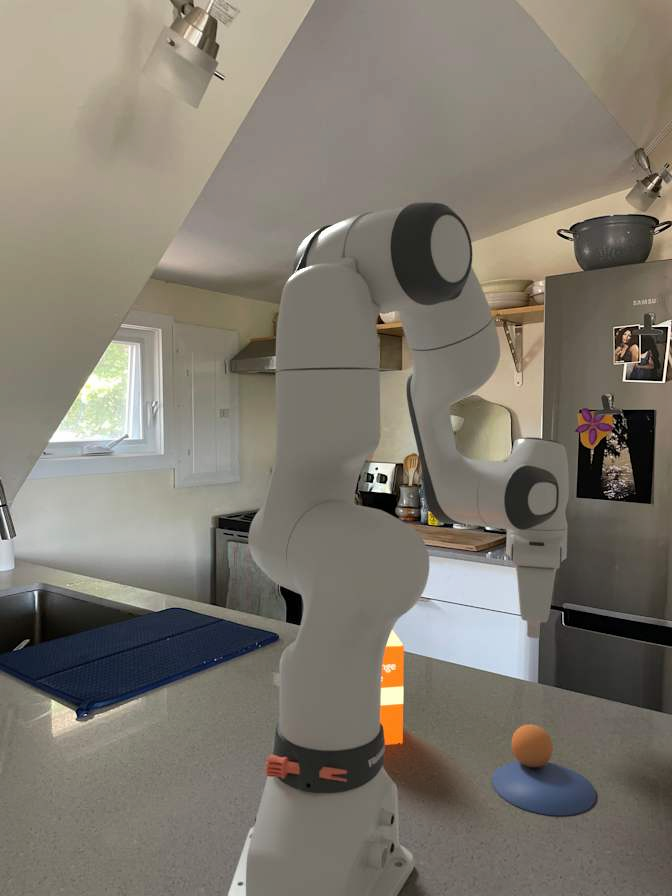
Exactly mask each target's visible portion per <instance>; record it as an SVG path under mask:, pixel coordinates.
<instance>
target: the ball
mask: <svg viewBox="0 0 672 896" xmlns="http://www.w3.org/2000/svg"><path fill="white" fill-rule="evenodd" d="M553 749H554V747H553V741H552V739H551V736H550V735H549V734H548V732H547V731H546V730H545V729H544V728H542V727H541V726H539V725H536V724H529V723H528V724H523V725H522V726H519V727H518V728H517V729H516V730H515V731H514V733H513V735H512V738H511V751H512V753H513V755H514V757H515V758H516V760H517V761H519V762H521V763H522V764H523V765H525V766H528V767H533V768H536V767H540V766H543V765H544V764H546V763H549V760H550V759H551V758H552V755H553Z"/></svg>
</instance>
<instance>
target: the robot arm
mask: <svg viewBox="0 0 672 896" xmlns="http://www.w3.org/2000/svg"><path fill="white" fill-rule="evenodd" d="M296 251H297V252H296V253H295V257H294V261H293V270H292V275H291V276H290V277H289V278H288V280H286V282H285V285H284V286H283V289H282V291H281V292H282V293H281V297H280V304H279V311H278V318H277V326H276V338H275V371H276V372H275V397H276V398H275V399H276V400H275V401H276V403H275V406H276V408H275V410H276V413H275V415H276V416H275V419H276V421H275V422H276V424H275V425H276V426H275V429H276V430H275V431H276V432H275V433H276V434H275V435H276V436H275V449H274V458H273V464H272V468H271V474H270V479H269V483H268V487H267V491H266V495H265V499H264V502H263V503H262V507H261V508H259V510H258V511H257V512H256V514H255V516H254V517H253V519H252V521H251V522H250V526H249V531H248V537H247V538H248V542H247V543H248V548H249V553H250V555H251V557H252V560H253V561H254V562H255V564H256V565H257V566H258V567H259V569H261V571H262V572H263V573H264V574H266V576H267V577H268V578H270V579H271V580H272V581H273V582H274V583H276V584H277V585H279V586H280V587H283V588H285V589H287V590H290V591H291V592H294V593H296V594H299V595H300V596H301V599H302V602H303V611H302V617H301V621H300V626H299V629H298V633H297V636H296V638H295V640H294V641H293V642H291V643H290V644H288V646H287V647H286V648H285V649H284V651H283V652H282V654H281V657H280V659H279V664H278V665H279V667H278V668H279V669H278V670H279V674H278V675H279V676H278V677H279V678H278V679H279V681H278V682H279V684H278V685H279V689H278V690H279V691H278V693H279V694H278V695H279V696H278V700H279V701H278V702H279V703H278V705H279V706H278V707H279V709H278V713H279V714H278V715H279V716H278V717H279V721H278V723H277V724H276V727H275V734H274V738H273V740H272V748H271V749H272V751H271V753H272V754H270V755H269V756H268V758H267V761H266V764H265V765H266V766H265V774H266V776H267V777H266V781H265V786H264V788H263V792H262V795H261V799H260V804H259V806H258V811H257V814H256V816H255V817H254V825H253V826H252V827H251V828H250V829H249V830H248V832H247V836H246V839H245V842H244V844H243V848H242V851H241V854H240V856H239V859H238V863H237V865H236V868H235V871H234V874H233V877H232V880H231V884H230V886H229V889H228V893H227V895H226V896H398V895H399V894H400V892H401V890H402V888H403V887H404V885H405V884H406V882H407V880H408V879H409V877H410V876H411V873H412V872H413V870H414V868H415V861H414V859H415V858H414V855H413V854H412V852H411V851H409V850H408V849H407V848H406V847H404V846H403V845H402V844H400V834H399V833H400V832H399V831H400V830H399V827H400V826H399V801H398V797H399V795H398V787H397V785H396V784H395V782H394V780H393V779H391V777H390V775H389V774H388V773H387V771H386V770H385V768H384V762H385V750H386V745H385V738H384V729H383V726H382V724H381V723H380V707H381V677H382V664H383V657H384V653H385V649H386V645H387V642H388V639H389V636H390V634H391V631H392V630H394V627H395V625H396V623H397V622H398V620H399V619H400V618H401V617H402V616H403V615H405V614H407V613H408V612H409V611H410V610H412V608H414V606H415V605H416V604H417V603H418V602H419V600H420V598H421V597H422V595H423V593H424V592H425V589H426V586H427V583H428V580H429V575H430V574H429V573H430V555H429V552H428V551H429V550H428V547H427V544H426V542H425V540H424V538H423V537H422V535H421V534H420V533H419V532H418V531H417V530H416V529H415V528H414V527H412V526H410V525H409V524H407V523H405V522H404V521H403V520H401V519H399V518H398V517H396V516H394V515H392V514H390V513H389V512H386V511H384V510H382V509H378V508H374V507H369V506H364V505H358V504H356V499H355V496H356V490H357V484H358V481H359V477H360V474H361V471H362V469H363V466H364V465H365V463H366V461H367V460H368V458H370V457H371V456H372V455H373V454H374V453H375V451H376V450H377V449H378V446H379V444H380V441H381V388H380V387H381V384H380V382H381V379H380V377H381V376H380V375H381V374H380V373H381V372H380V368H381V367H380V350H379V349H380V348H379V338H378V330H377V321H378V317H379V315H380V314H386V313H393V312H398V314H399V319H400V322H401V325H402V326H401V327H402V330H403V333H404V336H405V339H406V341H407V345H408V347H409V349H410V354H411V358H412V366H413V367H412V371H411V372H410V374H409V376H408V378H407V381H406V400H407V406H408V413H409V417H410V421H411V426H412V430H413V435H414V439H415V444H416V447H417V448H416V449H417V454H418V457H419V461H420V462H419V463H420V465H421V470H422V486H423V487H422V488H423V489H422V490H423V497H424V502H425V505H426V506H427V508H428V510H429V512H430V514H432V516H433V518H435V519H436V520H437V521H438V522H440V523H442V524H447V525H452V524H453V525H470V526H478V527H485V528H491V529H492V528H493V529H501V530H506V545H505V546H506V547H505V554H506V555H507V556H508V557H509V558H510V559H511V561H512V564H513V565H514V567H515V570H516V571H515V572H516V578H517V590H518V592H517V593H518V602H519V604H518V605H519V612H520V613H519V614H520V617H521V619H522V620H523V621H525V622H527V623H526V625H527V632H526V635H527V637H528V638H530V639H539V638H540V632H541V623H547V621H548V619H549V616H550V610H551V607H552V606H551V604H552V597H553V592H554V591H553V589H554V584H555V576H556V572H557V569H560V568H561V567H560V566H561V563H562V562H563V561H564V560H566V559H567V556H568V555H567V554H568V527H569V526H568V521H567V516H566V508H567V504H568V501H569V496H570V493H569V492H570V479H569V477H570V476H569V461H568V455H567V450H566V447H565V445H563V444H562V443H561V442H559V441H556V440H554V439H549V438H542V437H531V436H529V437H526V436H525V437H521V438H517V439H515V440H514V443H513V445H512V450H511V453H510V454H509V455H507V456H506V457H505V458H502V459H501V460H495V461H494V460H482V459H481V460H480V459H471V458H469V457H466V456H465V455H462V454H461V453H460V452H459V451H458V449H457V444H456V439H455V435H454V427H453V424H452V423H453V422H452V419H451V413H450V408H451V405H453V404H455V403H457V402H459V401H461V400H464V399H466V398H467V397H469V396H471V395H473V393H475V392H477V391H478V390H479V389H480V388H482V387H483V386H484V385H485V384H486V383H487V382H488V381H489V380H490V379H491V377H492V376H493V374H494V373H495V371H496V369H497V367H498V364H499V362H500V358H501V345H500V337H499V333H498V330H497V327H496V323H495V320H494V318H493V315H492V312H491V308H490V306H489V302H488V300H487V297H486V295H485V292H484V290H483V287H482V285H481V283H480V281H479V279H478V276H477V274H476V273H475V271H474V268H473V267H472V266H473V265H472V264H473V245H472V240H471V235H470V232H469V230H468V227H467V226H466V224H465V222H464V221H463V219H461V217H460V216H459V215H458V214H457V213H456V211H454V210H453V209H452V208H450V207H449V206H448V205H446V204H445V203H440V202H433V201H431V202H425V201H424V202H413V203H410V204H408V205H407V206H404V207H397V208H390V209H383V210H379V211H368V212H364V213H361V214H358V215H355V216H354V215H353V216H351V217H350V218H347V219H344V220H341V221H340V222H337V223H334V224H328V225H325V226H323V227H320V228H318V229H317V230H316V231H313V232H312V233H311V234H309V235H308V236H306V237H305V239H304V240H303V241H302V242H301V243H300V244H299V247H298V249H297V250H296Z"/></svg>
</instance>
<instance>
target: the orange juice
mask: <svg viewBox="0 0 672 896" xmlns="http://www.w3.org/2000/svg"><path fill="white" fill-rule="evenodd" d="M397 635H398V634H396V632H395V631H394V629H392V631H391V634H390V636H389V639H388V642H387V645H386V649H385V653H384V657H383V664H382V677H381V707H380V723H381V724H382V726H383V729H384V738H385V746H389V745H398V743H400V744H403V741H404V740H403V739H404V734H403V733H404V732H403V731H404V729H403V728H404V691H405V690H404V687H405V686H404V661H405V659H404V658H405V657H404V656H405V655H404V652H405V650H404V649H405V646H404V644H403V642H402V641H401V640H400V638H399V636H397Z"/></svg>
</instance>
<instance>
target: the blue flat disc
mask: <svg viewBox="0 0 672 896" xmlns="http://www.w3.org/2000/svg"><path fill="white" fill-rule="evenodd" d="M491 785H492V788H493V789H494V791H495V792H496V793H497V795H499V796H500V798H502V799H504V800H505V802H507V803H509V804H511V805H513V806H515V807H517V808H519V809H522V810H525V811H528V812H531V813H536V814H540V815H545V816H557V817H558V816H559V817H560V816H563V817H565V816H573V815H577V814H580V813H583V812H586V811H588V810H589V809H591V808H592V806H593V805H594V804H595V803H596V799H597V793H596V792H597V791H596V789H595V787H594V786H593V784H592V783H591V782H590V781H589V780H588V779H587V778H585V777H584V775H581V774H580V773H578V772H577V771H574V770H573V769H570V768H568V767H566V766H562V765H559V764H555V763H551V762H547V763H546V764H544V765H543V766H540V767H536V768H533V767H528V766H525V765H523V764H522V763H521V762H519V761H518V760H517V761H513V762H509V763H508V762H507V763H506V764H503V765H501V766H500V767H498V768H496V769H495V770H494V771H493V774H492V776H491Z"/></svg>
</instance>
